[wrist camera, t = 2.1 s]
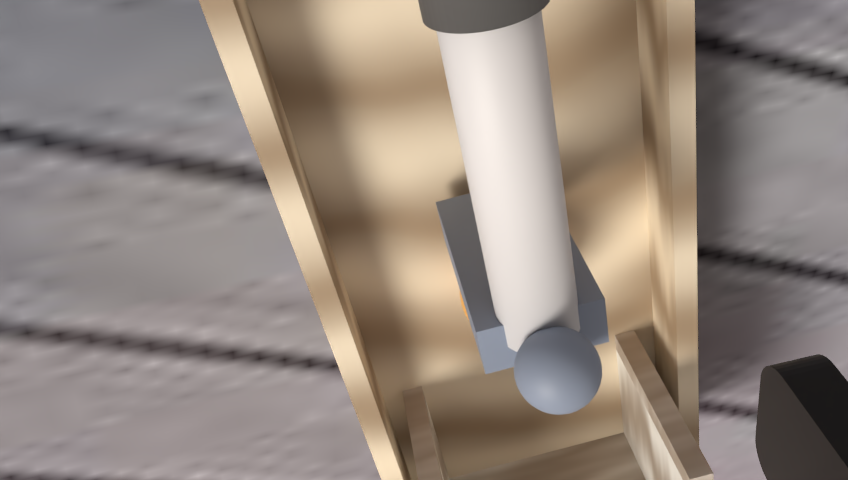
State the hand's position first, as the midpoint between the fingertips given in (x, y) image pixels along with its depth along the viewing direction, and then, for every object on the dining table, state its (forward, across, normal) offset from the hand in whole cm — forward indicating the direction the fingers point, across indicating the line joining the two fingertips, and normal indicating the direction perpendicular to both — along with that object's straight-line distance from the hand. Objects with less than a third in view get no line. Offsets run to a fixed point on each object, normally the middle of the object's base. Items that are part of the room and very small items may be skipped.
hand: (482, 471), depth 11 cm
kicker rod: (+21, -3, +2) cm, 21 cm away
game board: (+23, -3, +10) cm, 25 cm away
